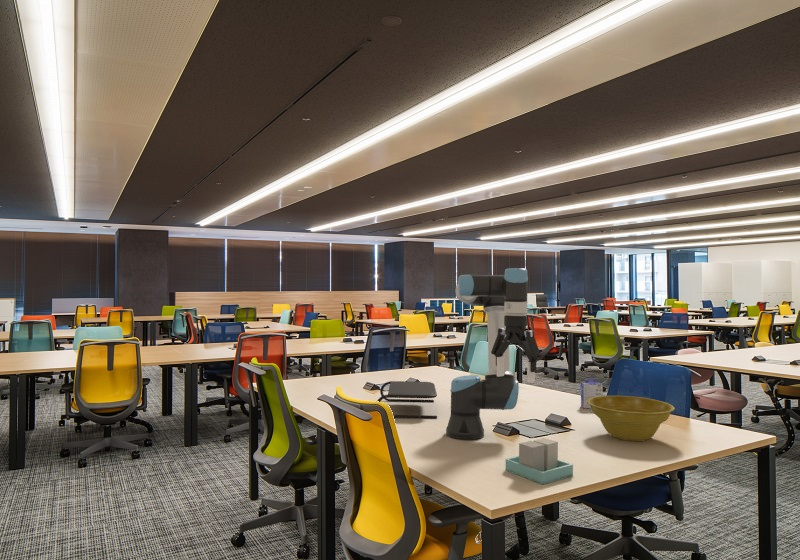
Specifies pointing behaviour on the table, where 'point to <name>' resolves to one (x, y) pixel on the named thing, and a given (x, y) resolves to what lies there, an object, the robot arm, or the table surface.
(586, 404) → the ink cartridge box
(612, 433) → the planter bowl
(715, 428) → the table surface
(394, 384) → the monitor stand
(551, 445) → the stone
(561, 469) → the bin
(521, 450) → the stone
